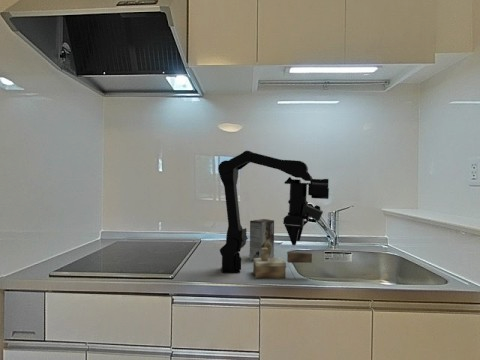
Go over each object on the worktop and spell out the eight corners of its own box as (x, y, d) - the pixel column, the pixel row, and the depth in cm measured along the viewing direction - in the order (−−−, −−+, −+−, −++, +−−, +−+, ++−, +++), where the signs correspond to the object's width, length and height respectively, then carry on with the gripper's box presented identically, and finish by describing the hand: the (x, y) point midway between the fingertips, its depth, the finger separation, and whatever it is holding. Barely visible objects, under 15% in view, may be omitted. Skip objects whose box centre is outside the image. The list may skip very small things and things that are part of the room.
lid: (256, 266, 124) (256, 251, 124) (253, 260, 132) (253, 246, 131) (285, 266, 124) (286, 251, 124) (281, 260, 132) (281, 246, 132)
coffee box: (261, 256, 158) (262, 218, 158) (274, 258, 154) (274, 220, 154) (248, 259, 151) (249, 220, 151) (261, 262, 147) (262, 221, 147)
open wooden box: (256, 278, 124) (256, 266, 123) (253, 272, 131) (253, 260, 131) (285, 278, 124) (285, 266, 124) (280, 271, 132) (281, 260, 132)
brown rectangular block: (288, 262, 124) (288, 253, 124) (287, 261, 126) (287, 252, 126) (311, 262, 125) (311, 253, 125) (310, 261, 127) (310, 252, 127)
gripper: (319, 200, 115) (317, 250, 115) (324, 197, 133) (322, 240, 133) (284, 198, 119) (282, 246, 119) (293, 195, 136) (291, 238, 137)
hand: (296, 242), depth 127 cm, fingers open, 9 cm apart
